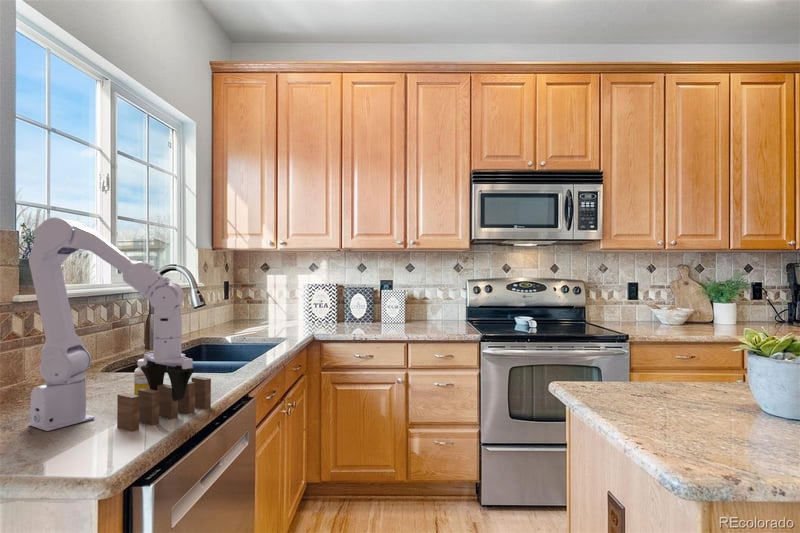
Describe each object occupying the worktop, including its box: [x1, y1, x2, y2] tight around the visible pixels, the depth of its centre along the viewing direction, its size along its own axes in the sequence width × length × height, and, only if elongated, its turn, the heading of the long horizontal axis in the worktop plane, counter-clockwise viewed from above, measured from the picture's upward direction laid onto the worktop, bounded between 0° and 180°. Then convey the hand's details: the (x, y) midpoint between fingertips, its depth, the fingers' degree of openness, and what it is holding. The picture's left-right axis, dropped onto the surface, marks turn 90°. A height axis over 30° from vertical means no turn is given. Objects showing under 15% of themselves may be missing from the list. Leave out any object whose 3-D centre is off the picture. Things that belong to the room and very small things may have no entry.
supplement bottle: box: [133, 358, 150, 396], centre depth 124 cm, size 5×5×10 cm
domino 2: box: [138, 388, 160, 426], centre depth 104 cm, size 2×5×7 cm, turn 61°
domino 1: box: [116, 392, 140, 433], centre depth 100 cm, size 2×5×7 cm, turn 61°
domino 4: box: [178, 380, 196, 415], centre depth 112 cm, size 2×5×7 cm, turn 61°
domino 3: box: [157, 383, 179, 421], centre depth 108 cm, size 2×5×7 cm, turn 61°
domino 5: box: [190, 375, 212, 410], centre depth 116 cm, size 2×5×7 cm, turn 61°
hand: (167, 397), depth 108 cm, fingers open, 7 cm apart
